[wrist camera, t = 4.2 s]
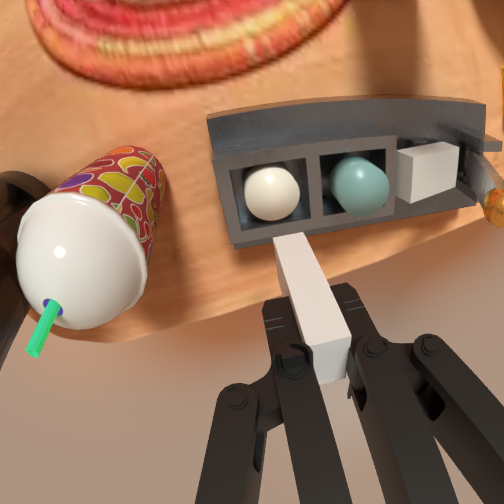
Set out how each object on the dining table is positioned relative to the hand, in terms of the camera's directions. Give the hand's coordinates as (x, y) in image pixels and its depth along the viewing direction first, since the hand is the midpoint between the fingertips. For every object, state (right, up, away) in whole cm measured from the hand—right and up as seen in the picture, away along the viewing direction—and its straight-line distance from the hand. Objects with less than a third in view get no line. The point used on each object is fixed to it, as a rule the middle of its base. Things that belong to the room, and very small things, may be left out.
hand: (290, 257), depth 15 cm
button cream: (-1, +6, +9) cm, 11 cm away
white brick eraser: (+14, +7, +7) cm, 17 cm away
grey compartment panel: (+9, +10, +12) cm, 18 cm away
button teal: (+6, +6, +7) cm, 11 cm away
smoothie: (-13, +7, +11) cm, 18 cm away
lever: (+20, +9, +8) cm, 24 cm away
